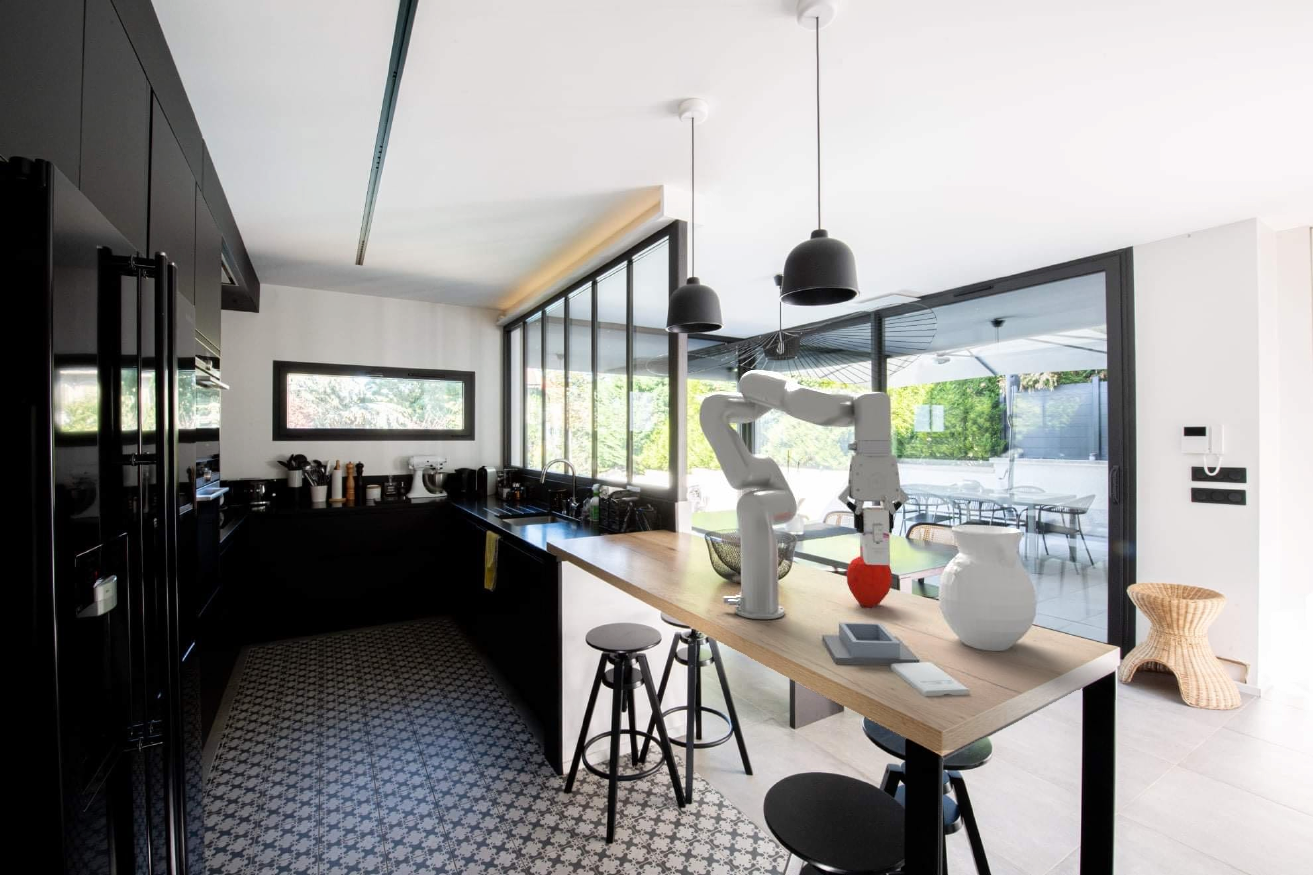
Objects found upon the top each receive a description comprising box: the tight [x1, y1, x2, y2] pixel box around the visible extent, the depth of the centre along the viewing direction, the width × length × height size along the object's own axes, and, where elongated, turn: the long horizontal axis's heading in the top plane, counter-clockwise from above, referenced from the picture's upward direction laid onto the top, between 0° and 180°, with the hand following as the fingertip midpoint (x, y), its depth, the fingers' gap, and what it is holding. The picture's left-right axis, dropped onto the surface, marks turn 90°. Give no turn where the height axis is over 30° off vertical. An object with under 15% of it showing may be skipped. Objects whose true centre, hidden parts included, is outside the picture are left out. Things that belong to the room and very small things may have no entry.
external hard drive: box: [890, 661, 971, 697], centre depth 108 cm, size 2×8×12 cm
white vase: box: [938, 524, 1037, 652], centre depth 128 cm, size 19×18×25 cm
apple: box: [846, 555, 893, 608], centre depth 159 cm, size 12×12×13 cm
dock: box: [821, 621, 920, 666], centre depth 123 cm, size 16×14×4 cm
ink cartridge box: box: [859, 495, 891, 566], centre depth 129 cm, size 9×5×15 cm, turn 171°
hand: (873, 531), depth 129 cm, fingers closed on ink cartridge box, 5 cm apart
